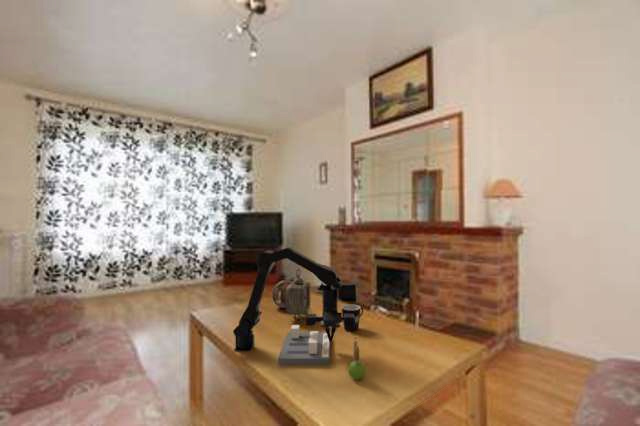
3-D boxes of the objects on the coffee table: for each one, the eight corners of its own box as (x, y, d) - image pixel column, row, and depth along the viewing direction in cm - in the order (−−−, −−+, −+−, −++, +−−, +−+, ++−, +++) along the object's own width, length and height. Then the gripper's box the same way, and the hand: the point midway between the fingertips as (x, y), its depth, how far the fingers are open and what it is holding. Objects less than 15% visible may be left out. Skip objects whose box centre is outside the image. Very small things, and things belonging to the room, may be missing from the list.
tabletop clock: (303, 324, 155) (302, 271, 155) (285, 323, 157) (284, 271, 157) (310, 314, 170) (309, 266, 169) (293, 313, 171) (292, 266, 171)
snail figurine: (363, 372, 109) (363, 336, 109) (367, 382, 102) (366, 344, 102) (347, 372, 109) (346, 337, 108) (349, 383, 102) (349, 344, 102)
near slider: (308, 353, 117) (308, 342, 117) (309, 349, 121) (309, 338, 121) (316, 353, 117) (316, 342, 117) (317, 349, 121) (317, 338, 121)
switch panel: (278, 365, 114) (277, 357, 114) (287, 338, 138) (287, 332, 138) (329, 365, 114) (329, 358, 114) (329, 338, 138) (329, 332, 138)
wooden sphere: (289, 302, 193) (289, 276, 193) (304, 307, 182) (304, 280, 182) (267, 307, 184) (266, 280, 184) (282, 313, 172) (281, 285, 172)
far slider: (291, 338, 131) (291, 328, 131) (292, 334, 135) (292, 325, 135) (298, 338, 131) (298, 328, 131) (299, 334, 135) (299, 325, 135)
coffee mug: (345, 333, 143) (345, 311, 143) (339, 327, 151) (338, 305, 151) (370, 330, 146) (369, 308, 146) (362, 324, 154) (362, 303, 154)
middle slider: (309, 345, 124) (309, 335, 124) (310, 341, 128) (310, 331, 128) (317, 345, 124) (317, 335, 124) (318, 341, 128) (318, 331, 128)
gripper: (304, 307, 118) (304, 350, 118) (355, 307, 117) (356, 350, 117) (306, 299, 129) (307, 338, 129) (353, 298, 128) (354, 338, 128)
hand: (330, 341), depth 126 cm, fingers closed
